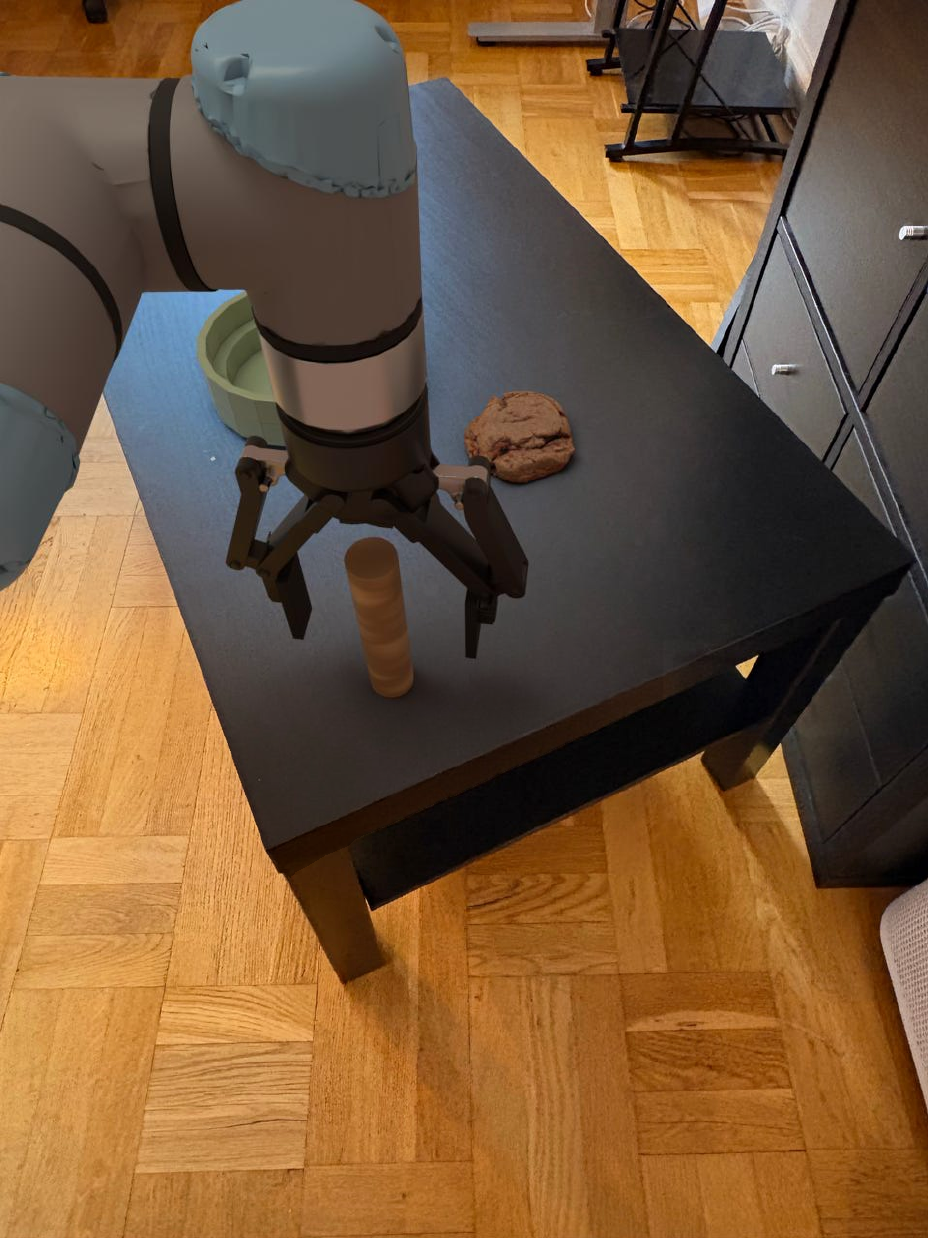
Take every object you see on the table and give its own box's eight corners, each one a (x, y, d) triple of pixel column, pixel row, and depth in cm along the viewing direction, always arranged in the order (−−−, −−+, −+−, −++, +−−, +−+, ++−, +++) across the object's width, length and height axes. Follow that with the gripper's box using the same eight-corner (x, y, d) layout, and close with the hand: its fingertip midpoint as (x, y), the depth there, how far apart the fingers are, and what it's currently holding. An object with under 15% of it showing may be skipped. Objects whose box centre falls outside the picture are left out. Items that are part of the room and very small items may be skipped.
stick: (367, 695, 62) (339, 577, 49) (375, 657, 64) (350, 534, 51) (410, 700, 62) (393, 582, 49) (416, 662, 63) (402, 539, 51)
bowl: (189, 444, 77) (169, 392, 72) (243, 324, 87) (229, 271, 82) (378, 461, 75) (372, 409, 71) (411, 337, 85) (407, 284, 80)
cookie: (574, 406, 79) (577, 381, 77) (572, 489, 73) (576, 464, 71) (468, 401, 80) (468, 375, 77) (458, 482, 74) (458, 458, 71)
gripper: (598, 355, 42) (560, 606, 60) (143, 319, 44) (237, 573, 62) (591, 462, 38) (553, 698, 56) (88, 417, 40) (207, 659, 58)
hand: (387, 632), depth 59 cm, fingers open, 11 cm apart
